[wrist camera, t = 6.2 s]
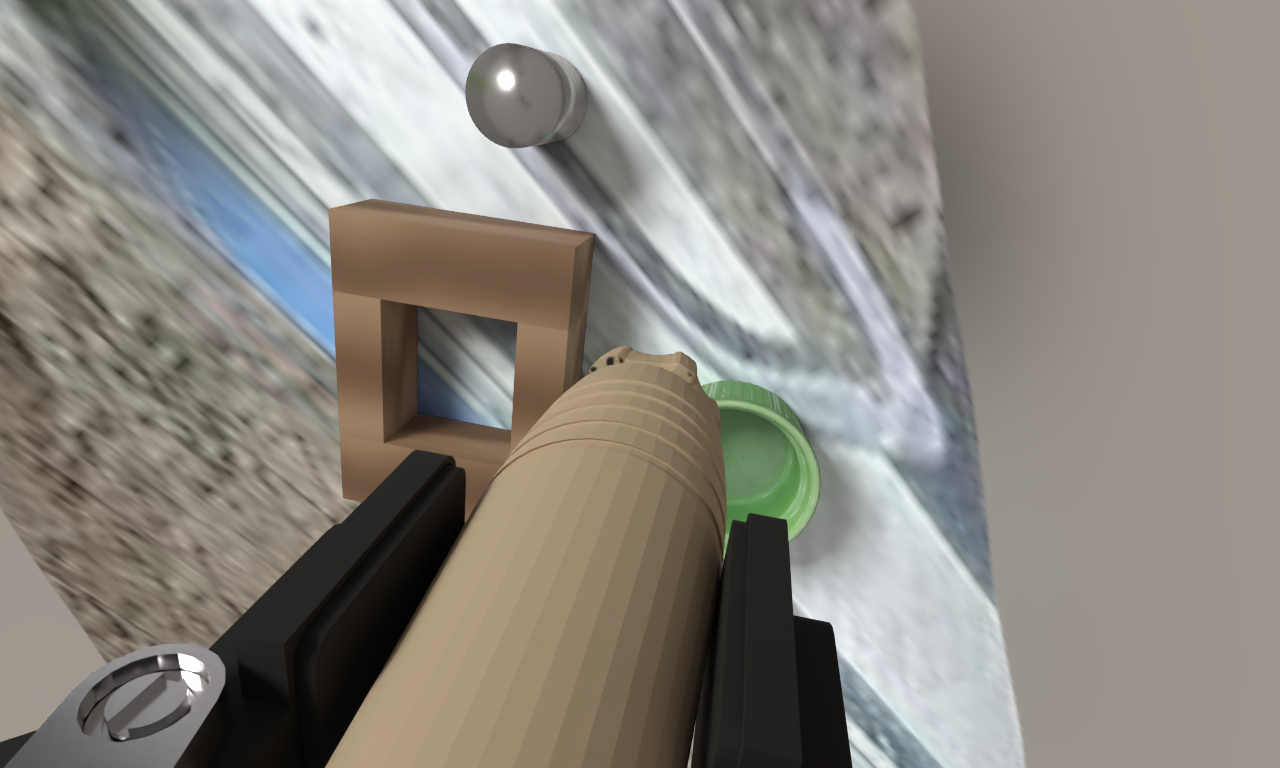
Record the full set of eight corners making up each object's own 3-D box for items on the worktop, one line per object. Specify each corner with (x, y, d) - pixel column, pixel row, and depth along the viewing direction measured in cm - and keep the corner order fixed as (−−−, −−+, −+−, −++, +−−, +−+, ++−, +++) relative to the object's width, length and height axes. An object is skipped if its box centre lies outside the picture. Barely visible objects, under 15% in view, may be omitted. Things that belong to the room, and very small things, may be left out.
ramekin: (837, 489, 38) (846, 533, 34) (688, 533, 41) (680, 579, 37) (779, 345, 36) (781, 375, 32) (624, 402, 39) (608, 436, 35)
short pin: (508, 47, 33) (466, 37, 28) (590, 58, 32) (562, 49, 28) (503, 136, 34) (464, 141, 30) (582, 148, 34) (554, 154, 29)
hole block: (372, 198, 37) (328, 208, 33) (594, 233, 35) (575, 247, 32) (379, 464, 43) (342, 498, 39) (568, 501, 41) (550, 540, 38)
